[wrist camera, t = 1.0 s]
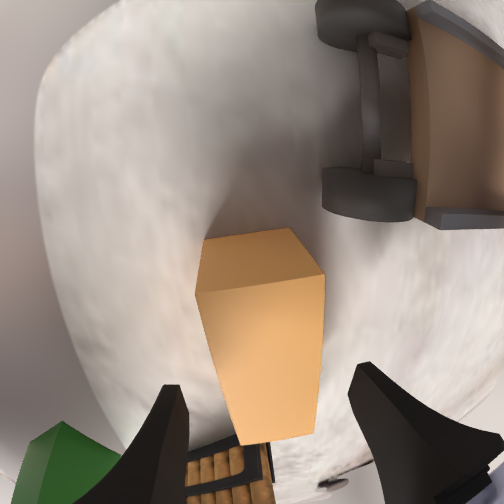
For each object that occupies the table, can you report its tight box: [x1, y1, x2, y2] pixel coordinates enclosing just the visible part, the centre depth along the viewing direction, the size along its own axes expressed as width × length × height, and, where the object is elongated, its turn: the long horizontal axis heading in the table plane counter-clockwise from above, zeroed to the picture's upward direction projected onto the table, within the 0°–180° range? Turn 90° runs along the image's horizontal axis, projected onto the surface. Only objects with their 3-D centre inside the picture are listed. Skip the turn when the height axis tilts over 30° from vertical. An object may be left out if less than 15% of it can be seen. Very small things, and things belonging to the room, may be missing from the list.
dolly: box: [315, 0, 504, 230], centre depth 9 cm, size 17×9×6 cm, turn 92°
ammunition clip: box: [185, 434, 276, 504], centre depth 14 cm, size 11×2×12 cm, turn 129°
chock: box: [195, 228, 325, 446], centre depth 12 cm, size 4×10×5 cm, turn 6°
